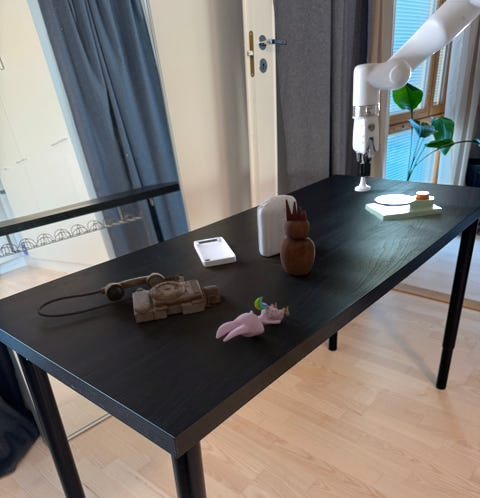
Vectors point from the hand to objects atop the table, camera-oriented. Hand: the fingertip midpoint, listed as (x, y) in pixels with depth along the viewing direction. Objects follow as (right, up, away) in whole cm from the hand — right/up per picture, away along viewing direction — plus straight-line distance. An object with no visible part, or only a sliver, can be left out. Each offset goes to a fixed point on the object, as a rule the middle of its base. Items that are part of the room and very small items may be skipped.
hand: (363, 175), depth 133 cm
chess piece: (0, -4, +2) cm, 5 cm away
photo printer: (-30, -30, -36) cm, 56 cm away
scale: (+5, -16, -19) cm, 25 cm away
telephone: (-59, -44, -54) cm, 91 cm away
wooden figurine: (-28, -37, -48) cm, 66 cm away
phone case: (-46, -31, -34) cm, 65 cm away
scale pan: (+2, -14, -20) cm, 25 cm away
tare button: (+10, -13, -20) cm, 26 cm away
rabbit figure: (-37, -49, -67) cm, 90 cm away
